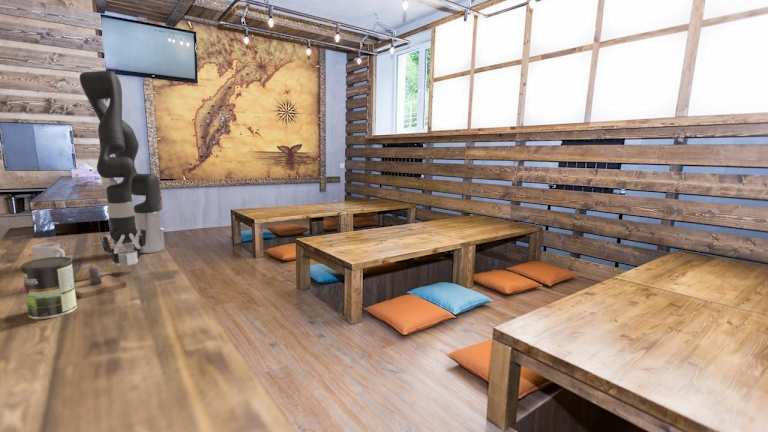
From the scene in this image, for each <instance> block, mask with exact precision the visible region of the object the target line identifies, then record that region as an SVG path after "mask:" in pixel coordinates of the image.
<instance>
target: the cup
mask: <svg viewBox="0 0 768 432" xmlns="http://www.w3.org/2000/svg"><path fill="white" fill-rule="evenodd" d="M31 250H32V253H33V257H34V260H37V259H42V258H49V257H66V252H65V250H64V249H63V248H62V247H61V243H59V242H44V243H43V242H42V243H38V244H35V245H32V246H31Z"/></svg>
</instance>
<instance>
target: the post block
mask: <svg viewBox="0 0 768 432" xmlns="http://www.w3.org/2000/svg"><path fill="white" fill-rule="evenodd" d="M88 273H89V279H87V280H82V281H78V282H77V281H76V282H74V286H75V295H76V297H79V298H81V299H85V298H87V297H91V296H92V297H93V296H97V295H99V294H104V293H108V292H110V291H111V292H112V291H115V290H119V289H123V288H127V282H126V281H124V280H121V279H120V278H118V277H114V276H112V275H110V274H107V275H104V276H102V275H101V267H99V266H96V267H95V266H94V267H90V268H88Z"/></svg>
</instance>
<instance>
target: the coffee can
mask: <svg viewBox="0 0 768 432" xmlns="http://www.w3.org/2000/svg"><path fill="white" fill-rule="evenodd" d="M20 268H21V270H22V276H23V284H24V290H25V296H26V297H25V298H26V304H27V312H28V315H27V316H28V318H29V319H32V320H47V319H55V318H58V316H59V317H62V316H61V315H63V316H65V314H66V315H68V314H71V313H72V312H74V311H76V310H77V309H78V305H77V295H75V286H74V283H75V280H74V279H75V278H74V269H73V259H72V258H71V257H68V256H65V257H61V256H60V257H49V258H42V259H37V260H35V259H34V260H30V261H26V262H24V263H22V264H21V265H20ZM54 317H55V318H54Z"/></svg>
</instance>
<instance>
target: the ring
mask: <svg viewBox="0 0 768 432" xmlns="http://www.w3.org/2000/svg"><path fill="white" fill-rule="evenodd" d="M117 253H118V254H119V255H118V256H119V263H118V264H116V263H115V264H116V265H117V266H119V267H121V266H123V267H124V266H131V265H135V264H137V263H138V262H139V259H138V256H137V251H135V250H133V249H124V250H120V251H119V250H118V252H117Z"/></svg>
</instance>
